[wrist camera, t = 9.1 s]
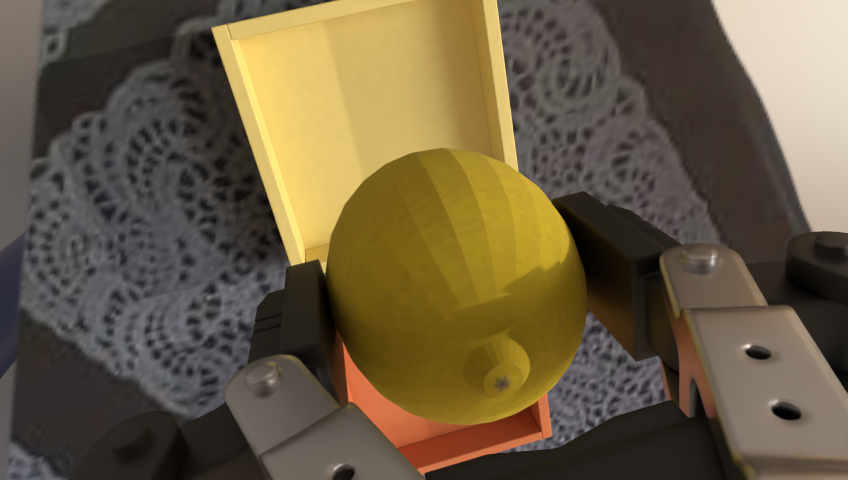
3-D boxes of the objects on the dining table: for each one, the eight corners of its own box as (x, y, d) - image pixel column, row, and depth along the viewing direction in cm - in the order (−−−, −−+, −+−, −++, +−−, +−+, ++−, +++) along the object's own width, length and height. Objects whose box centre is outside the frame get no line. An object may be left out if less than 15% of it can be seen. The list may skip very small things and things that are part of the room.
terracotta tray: (362, 459, 34) (366, 491, 32) (312, 305, 29) (312, 330, 27) (536, 408, 35) (552, 436, 33) (514, 251, 30) (531, 271, 28)
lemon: (329, 108, 15) (348, 214, 7) (526, 129, 16) (706, 236, 9) (316, 295, 17) (320, 519, 9) (491, 300, 18) (613, 502, 11)
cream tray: (296, 258, 28) (295, 281, 26) (220, 25, 23) (210, 27, 21) (508, 204, 29) (525, 221, 27) (475, -31, 24) (492, -34, 22)
